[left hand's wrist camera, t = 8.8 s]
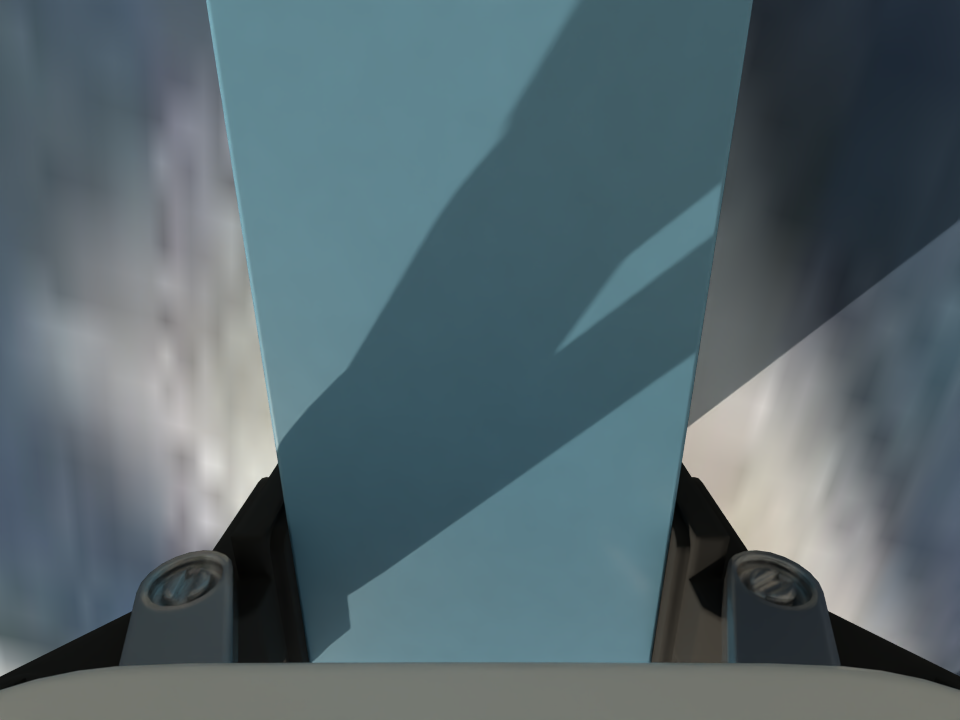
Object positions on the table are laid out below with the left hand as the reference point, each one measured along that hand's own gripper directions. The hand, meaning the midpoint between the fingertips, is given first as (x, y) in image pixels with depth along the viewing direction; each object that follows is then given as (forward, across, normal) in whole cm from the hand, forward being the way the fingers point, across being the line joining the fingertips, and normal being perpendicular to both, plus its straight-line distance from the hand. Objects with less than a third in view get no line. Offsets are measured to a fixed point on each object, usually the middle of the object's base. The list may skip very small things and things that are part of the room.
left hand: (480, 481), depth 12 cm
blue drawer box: (+4, 0, -4) cm, 6 cm away
